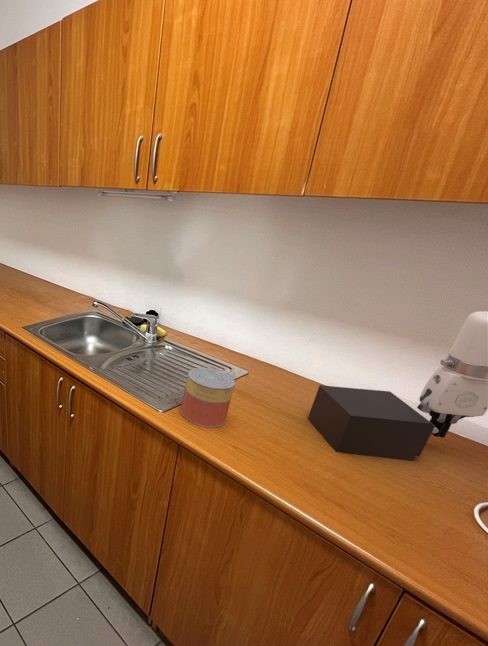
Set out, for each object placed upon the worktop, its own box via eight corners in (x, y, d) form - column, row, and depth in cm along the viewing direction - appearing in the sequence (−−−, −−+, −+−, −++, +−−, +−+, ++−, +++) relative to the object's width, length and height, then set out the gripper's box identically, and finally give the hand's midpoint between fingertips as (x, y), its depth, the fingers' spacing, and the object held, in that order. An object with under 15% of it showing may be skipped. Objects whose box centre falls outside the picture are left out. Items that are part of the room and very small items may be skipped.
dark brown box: (375, 425, 104) (390, 391, 100) (413, 461, 92) (432, 423, 88) (307, 418, 107) (319, 385, 103) (335, 451, 95) (350, 415, 91)
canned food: (234, 419, 107) (245, 381, 103) (207, 432, 102) (217, 393, 98) (197, 399, 116) (205, 363, 112) (171, 410, 112) (178, 373, 107)
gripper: (442, 371, 86) (408, 439, 93) (529, 378, 83) (487, 448, 90) (416, 356, 93) (387, 420, 100) (496, 362, 89) (459, 428, 97)
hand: (434, 433), depth 95 cm, fingers closed
